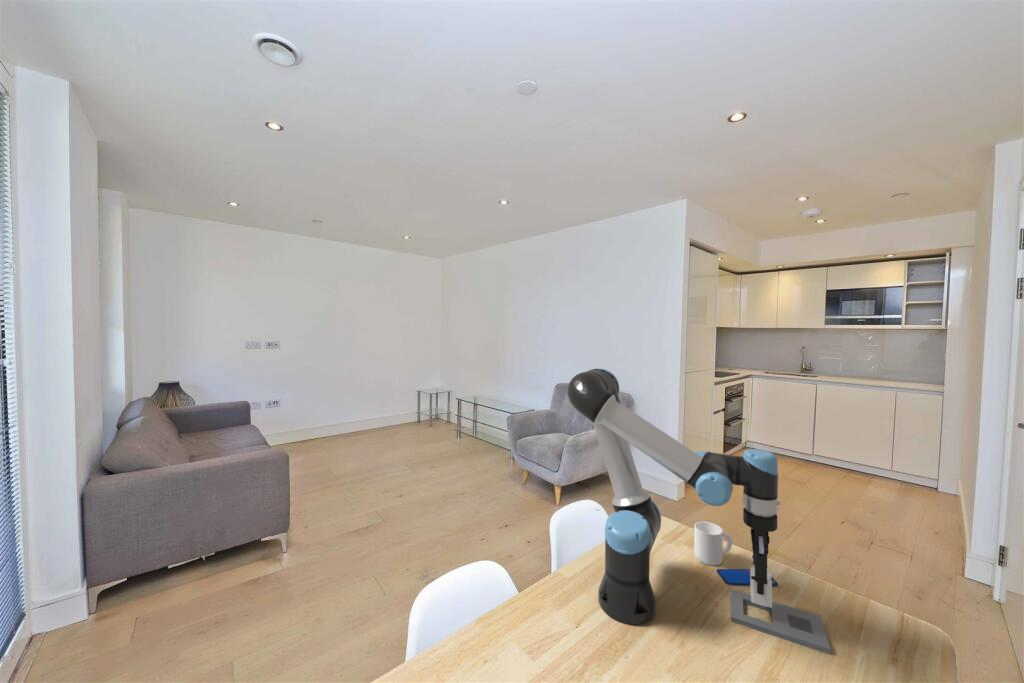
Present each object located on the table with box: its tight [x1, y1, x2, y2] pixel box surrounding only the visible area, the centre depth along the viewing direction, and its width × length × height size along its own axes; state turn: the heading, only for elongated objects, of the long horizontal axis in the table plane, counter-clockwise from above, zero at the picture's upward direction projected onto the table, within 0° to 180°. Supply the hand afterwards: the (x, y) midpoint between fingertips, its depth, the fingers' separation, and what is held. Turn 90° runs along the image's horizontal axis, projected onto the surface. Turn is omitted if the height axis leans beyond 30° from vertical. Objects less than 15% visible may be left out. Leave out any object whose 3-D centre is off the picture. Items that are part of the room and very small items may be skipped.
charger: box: [749, 565, 773, 608], centre depth 100 cm, size 4×4×7 cm
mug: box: [693, 521, 733, 567], centre depth 125 cm, size 12×8×10 cm
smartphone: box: [716, 568, 779, 588], centre depth 116 cm, size 7×1×15 cm
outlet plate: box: [730, 588, 831, 655], centre depth 99 cm, size 20×12×1 cm, turn 60°
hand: (759, 597), depth 101 cm, fingers closed on charger, 4 cm apart
